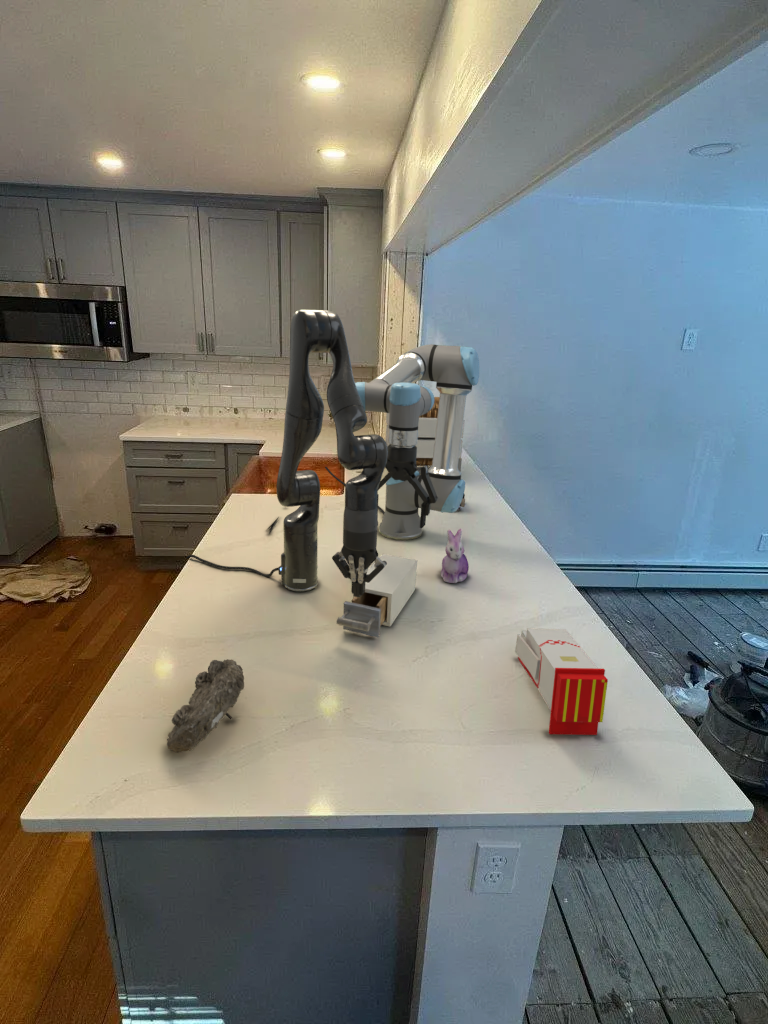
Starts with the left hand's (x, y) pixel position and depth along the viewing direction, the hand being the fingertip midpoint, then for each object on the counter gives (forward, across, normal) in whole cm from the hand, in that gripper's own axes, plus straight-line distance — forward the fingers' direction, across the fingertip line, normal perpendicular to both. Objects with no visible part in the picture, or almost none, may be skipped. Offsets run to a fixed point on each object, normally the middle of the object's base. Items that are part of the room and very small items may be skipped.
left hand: (358, 595), depth 130 cm
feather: (+12, -57, +62) cm, 85 cm away
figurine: (+12, +14, +44) cm, 47 cm away
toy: (+12, +45, -1) cm, 46 cm away
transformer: (+12, -28, +148) cm, 151 cm away
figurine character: (+12, -1, +107) cm, 108 cm away
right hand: (-8, 0, +28) cm, 29 cm away
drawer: (+11, 0, +10) cm, 15 cm away
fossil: (+12, -16, -35) cm, 40 cm away
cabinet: (+12, 0, +21) cm, 24 cm away
